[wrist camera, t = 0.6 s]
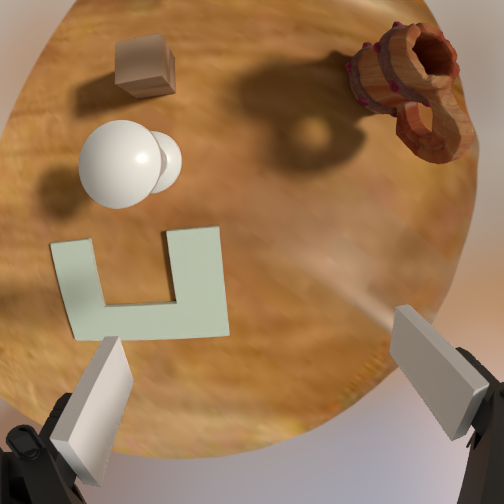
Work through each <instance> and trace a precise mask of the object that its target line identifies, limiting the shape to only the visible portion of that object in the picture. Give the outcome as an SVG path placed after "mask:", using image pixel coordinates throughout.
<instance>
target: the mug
mask: <svg viewBox="0 0 504 504" xmlns="http://www.w3.org/2000/svg"><path fill="white" fill-rule="evenodd" d="M456 60H457V53H456V51H455V49H454V48H453V47H452V45H451V44H450V42H449V41H448V40H446V39H445V38H444V36H443V32H442V31H441V30H439V29H438V28H436V27H434V26H432V25H430V24H427V23H418V24H416V25H415V24H414V23H413V24H411V25H409V26H406V25H403V24H402V23H400V22H394V24H393V26H392V29H390V30H389V31H388V32H386V33H385V34H384V35H383V36H382V38H381V39H380V41H379V42H377V43H375V44H374V45H372V44H371V43H369V42H366V43H364V44H363V47H362V49H361V50H360V51H359V52H358V53H357V54H356V55H355V56H354V57H353V58H352V60H351V62H349V63H347V64H346V66H345V68H346V70H347V72H348V76H349V82H350V87H351V90H352V91H353V94H354V96H355V97H356V99H357V100H358V102H359V104H360V105H362V106H365V107H366V108H368V109H370V110H371V111H373V112H375V113H377V114H391V116H393V117H397V124H396V135H397V136H398V137H399V138H400V139H401V140H402V141H403V142H404V144H405V145H406V146H407V147H408V148H409V149H410V150H411V151H412V152H413V153H414V154H415V155H416V156H418V157H419V158H421V159H423V160H425V161H427V162H430V163H436V164H443V163H448V162H450V161H453V160H456V159H459V158H460V157H462V156H463V155H464V154H465V153H466V151H467V150H468V149H469V147H470V146H471V144H472V142H473V137H474V130H473V127H472V123H471V121H470V119H469V118H468V117H467V116H466V114H465V113H464V112H463V111H462V110H461V109H460V107H459V106H458V104H457V102H456V100H455V98H454V95H453V92H452V90H451V87H450V86H451V82H454V81H456V80H457V78H458V75H459V72H460V68H459V65H458V64H457V62H456ZM418 102H419V103H422V104H423V105H425V106H427V107H431V109H432V112H433V121H432V132H431V131H429V130H428V129H427V128H426V127H425V126H424V125H423V122H422V121H421V119H420V116H419V110H418Z"/></svg>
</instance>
